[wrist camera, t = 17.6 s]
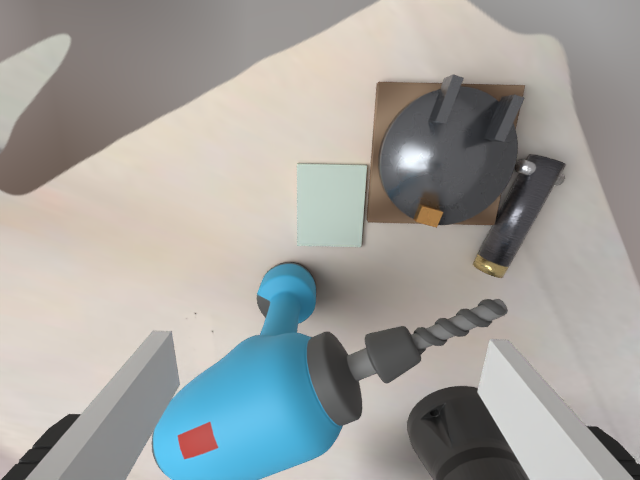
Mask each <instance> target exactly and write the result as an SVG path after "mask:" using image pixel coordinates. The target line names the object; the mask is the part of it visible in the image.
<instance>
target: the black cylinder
mask: <svg viewBox="0 0 640 480" xmlns="http://www.w3.org/2000/svg"><path fill="white" fill-rule="evenodd" d="M565 165H566V164H565V163H563V162H560V161H557V160H554V159H550V158H547V157H543V156H538V155H532V154H529V156H528V158H527V160H524V159H522V160H519V161H518V162H517V163H516V165H515V171H516V172H519V173H520V174H519V175H518V177H517V179H516V181H515V183H514V185H513V187H512V189H511V191H510V193H509V195H508V197H507V199H506V201H505V203H504V205H503V207H502V208H501V210H500V212H499V214H498V216H497V218H496V220H495V225H493V226H492V228H491V230H490V232H489V234H488V236H487V238H486V240H485V241H484V243H483V245H482V247H481V249H480V251H479V253H478V255H477V257H476V259H475V261H474V263H473V265H474V267H476V268H477V269H479V270H480V271H482V272H484V273H486V274H489V275H491V276H494V277H498V278H503V276H504V274H505V273H506V271H507V269H508V267H509V265H510V264H511V262H512V260H513V258H514V256H515V255H516V253H517V251H518V249H519V248H520V246H521V244H522V242H523V240H524V239H525V237H526V235H527V233H528V231H529V230H530V228H531V226H532V224H533V223H534V221H535V219H536V217H537V215H538V214H539V212H540V210H541V208H542V206H543V205H544V203H545V201H546V199H547V198H548V196H549V194H550V192H551V190H552V189H553V187H554V185H560V184H561V183H562V182H563V181H564V179H565V176H564V175H563V174H562V171H563V169H564V167H565Z"/></svg>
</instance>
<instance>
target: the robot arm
mask: <svg viewBox="0 0 640 480" xmlns="http://www.w3.org/2000/svg"><path fill="white" fill-rule="evenodd" d="M179 385H180V382H179V376H178V369H177V363H176V356H175V350H174V343H173V337H172V331H152V333H151V334H150V335H149V336H148V337H147V338H146V340H145V341H144V342H143V343H142V344H141V345H140V347H139V348H138V349H137V350H136V351H135V352H134V353H133V355H132V356H131V357H130V358H129V359H128V360H127V362H126V363H125V364H124V365H123V366H122V367H121V369H120V370H119V371H118V372H117V373H116V374H115V376H114V377H113V378H112V379H111V380H110V381H109V383H108V384H107V385H106V386H105V387H104V388H103V390H102V391H101V392H100V393H99V394H98V395H97V396H96V398H95V399H94V400H93V401H92V402H91V403H90V405H89V406H88V407H87V408H86V409H85V410H84V412H83V413H82V414H68V415H67V416H65V417H64V418H63V419H61V420H60V421H59V422H57V423H56V424H54V425H53V426H52V427H50V428H49V429H48V430H47V431H46V432H45V433H44V434H43V435H42V436H41V437H40V439H39V440H38V441H37V442H36V443H35V444H34V445H33V448H32V449H29V450H28V451H27V453H26V454H25V455H24V456H23V457H22V458H21V459H20V460H19V463H18V464H15V465H14V467H13V468H12V469H11V470H10V471H9V472H8V473H7V474H6V475H5V476H4V477H3V478H2V479H1V480H126V478H127V476H128V474H129V473H130V471H131V469H132V467H133V466H134V464H135V462H136V460H137V459H138V457H139V455H140V453H141V452H142V450H143V448H144V446H145V445H146V443H147V441H148V439H149V438H150V436H151V434H152V432H153V431H154V429H155V427H156V425H157V424H158V422H159V420H160V418H161V417H162V415H163V413H164V411H165V409H166V408H167V406H168V404H169V402H170V401H171V399H172V397H173V395H174V394H175V392H176V390H177V388H178V387H179ZM407 431H408V435H409V438H410V442H411V445H412V447H413V449H414V451H415V452H416V454H417V455H418V457H419V458H420V460H421V461H422V463H423V465H424V466H425V468H426V469H427V471H428V472H429V474H430V475H431V477H432V478H433V480H640V464H637V463H636V462H635V459H634V458H633V457H632V456H631V455H630V454H629V453H628V452H627V451H626V450H625V449H624V448H623V447H622V446H621V445H620V444H619V443H618V442H617V441H616V440H615V439H613V438H612V437H610V436H609V435H608V434H606V433H605V432H604V431H602V430H601V429H600V428H598V427H591V426H586V425H585V424H584V423H583V422H582V421H581V420H580V419H579V418H578V417H577V415H576V414H575V413H574V412H573V411H572V410H571V409H570V408H569V407H568V405H567V404H566V403H565V402H564V401H563V400H562V399H561V398H560V397H559V395H558V394H557V393H556V392H555V391H554V390H553V389H552V388H551V387H550V385H549V384H548V383H547V382H546V381H545V380H544V379H543V378H542V376H541V375H540V374H539V373H538V372H537V371H536V370H535V369H534V368H533V366H532V365H531V364H530V363H529V362H528V361H527V360H526V359H525V358H524V356H523V355H522V354H521V353H520V352H519V351H518V350H517V349H516V348H515V346H514V345H513V344H512V343H511V342H510V341H509V340H498V339H490V341H489V345H488V349H487V353H486V358H485V362H484V366H483V370H482V374H481V379H480V383H479V387H478V388H474V387H468V386H455V387H448V388H444V389H441V390H438V391H435V392H433V393H431V394H429V395H428V396H426V397H424V398H423V399H422V400H421V401H419V402H418V403H417V404H416V406H415V407H414V408H413V409H412V411H411V413H410V415H409V417H408V421H407Z"/></svg>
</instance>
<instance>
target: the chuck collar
mask: <svg viewBox="0 0 640 480" xmlns="http://www.w3.org/2000/svg"><path fill="white" fill-rule="evenodd" d="M463 79H464V78H462V77H459V76H456V75H451V76H449V77H446V78H444V80H443V83H442V86H441V88H440V89H438V90H435V91H432V92H429V93H427V94H424V95H422V96H420V97H418V98H416V99H415V100H413V101H412V102H410V103H409V104H407V105H406V106H405V107H404V108H403V109H402V110H401V111H400V112H399V113H398V114H397V115H396V116H395V117H394V119H393V120H392V121H391V123H390V124H389V126H388V128H387V130H386V131H385V134H384V136H383V139H382V141H381V145H380V149H379V155H378V171H379V177H380V181H381V184H382V186H383V189H384V191H385V193H386V194H387V196H388V197H389V199H390V200H391V201H392V202H393V203H394V205H395V206H396V207H397V208H398V209H400V210H401V211H402V212H403V213H404V214H406V215H407V216H408V217H410V218H412V219H414V220H415V221H416V222H418V223H422V224H426V225H429V226H433V227H436V228H437V226H438V225H449V224H455V223H459V222H462V221H465V220H467V219H470V218H472V217H474V216H475V215H477V214H479V213H481V212H482V211H483V210H485V209H486V208H487V207H488V206H490V205H491V204H492V203H493V202H494V201H495V200H496V199H497V198H498V196H499V195H500V194H501V193H502V191H503V190H504V188H505V187H506V185H507V183H508V182H509V180H510V178H511V175H512V173H513V170H514V167H515V163H516V158H517V145H518V143H517V134H516V130H515V126H514V124H513V122H514V120H515V118H516V115H517V113H518V111H519V109H520V107H521V104H522V102H523V100H524V97H521V96H518V95H509V96H503V97H501V99H500V101H498V100H496V99H495V98H494V97H492V96H491V95H489V94H488V93H486V92H483V91H481V90H479V89H475V88H471V87H462V86H461V84H462V81H463Z"/></svg>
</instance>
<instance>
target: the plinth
mask: <svg viewBox="0 0 640 480" xmlns="http://www.w3.org/2000/svg"><path fill="white" fill-rule="evenodd" d="M441 86H442V83H403V82H378V83H377V87H376V100H375V113H374V127H373V140H372V153H371V167H370V180H369V193H368V207H367V221H368V222H375V223H418V222H416V221H415V220H414V219H412V218H410V217H408V216H407V215H406V214H404V213H403V212H402V211H401V210H400V209H398V208H397V207H396V206H395V205H394V203H393V202H392V201H391V200H390V199H389V197H388V196H387V194H386V193H385V191H384V189H383V186H382V184H381V181H380V177H379V171H378V155H379V149H380V145H381V141H382V139H383V136H384V134H385V131H386V130H387V128H388V126H389V124H390V123H391V121H392V120H393V119H394V117H395V116H396V115H397V114H398V113H399V112H400V111H401V110H402V109H403V108H404V107H405V106H406V105H407V104H409V103H410V102H412V101H413V100H415V99H416V98H418V97H420V96H422V95H424V94H427V93H429V92H432V91H435V90H438V89H440V88H441ZM461 86H462V87H471V88H475V89H479V90H481V91H483V92H486V93H488V94H489V95H491V96H492V97H494V98H495V99H496V100H498V101H500V99H501V97H503V96H509V95H518V96H521V97H523V93H524V88H525V85H488V84H461ZM519 111H520V109H519ZM519 111H518V113H517V115H516V118H515V120H514V122H513V124H514V126H515V129H516V125H517V120H518V116H519ZM500 197H501V194H500V195H499V196H498V198H497V199H496V200H495V201H494V202H493V203H492V204H491V205H490V206H488V207H487V208H486V209H485V210H483V211H482V212H481V213H479V214H477V215H475V216H474V217H472V218H470V219H467V220H465V221H462V222H459V223H455V224H462V225H495V220H496V215H497V211H498V206H499V202H500ZM419 224H422V223H419Z"/></svg>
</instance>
